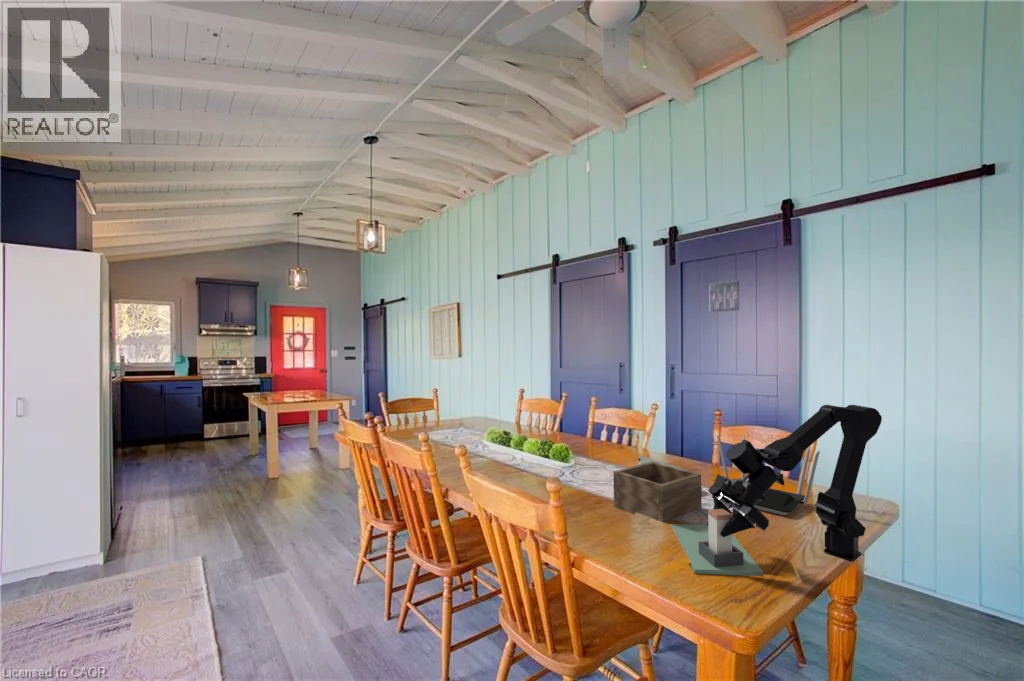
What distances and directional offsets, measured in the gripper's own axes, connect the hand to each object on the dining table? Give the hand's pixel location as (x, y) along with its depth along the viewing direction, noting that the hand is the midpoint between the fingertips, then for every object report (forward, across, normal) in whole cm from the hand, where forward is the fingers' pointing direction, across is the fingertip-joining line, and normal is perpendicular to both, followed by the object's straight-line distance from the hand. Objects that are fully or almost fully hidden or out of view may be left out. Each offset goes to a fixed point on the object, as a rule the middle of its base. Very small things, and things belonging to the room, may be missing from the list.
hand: (715, 530), depth 121 cm
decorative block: (-5, -67, +17) cm, 69 cm away
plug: (+4, 0, +6) cm, 7 cm away
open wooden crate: (+5, -38, +7) cm, 39 cm away
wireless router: (-22, -40, +35) cm, 58 cm away
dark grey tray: (+5, 0, +7) cm, 8 cm away
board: (+4, -8, +8) cm, 12 cm away
